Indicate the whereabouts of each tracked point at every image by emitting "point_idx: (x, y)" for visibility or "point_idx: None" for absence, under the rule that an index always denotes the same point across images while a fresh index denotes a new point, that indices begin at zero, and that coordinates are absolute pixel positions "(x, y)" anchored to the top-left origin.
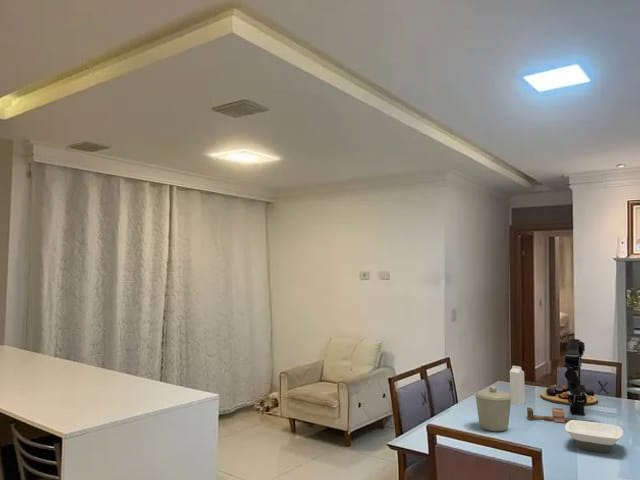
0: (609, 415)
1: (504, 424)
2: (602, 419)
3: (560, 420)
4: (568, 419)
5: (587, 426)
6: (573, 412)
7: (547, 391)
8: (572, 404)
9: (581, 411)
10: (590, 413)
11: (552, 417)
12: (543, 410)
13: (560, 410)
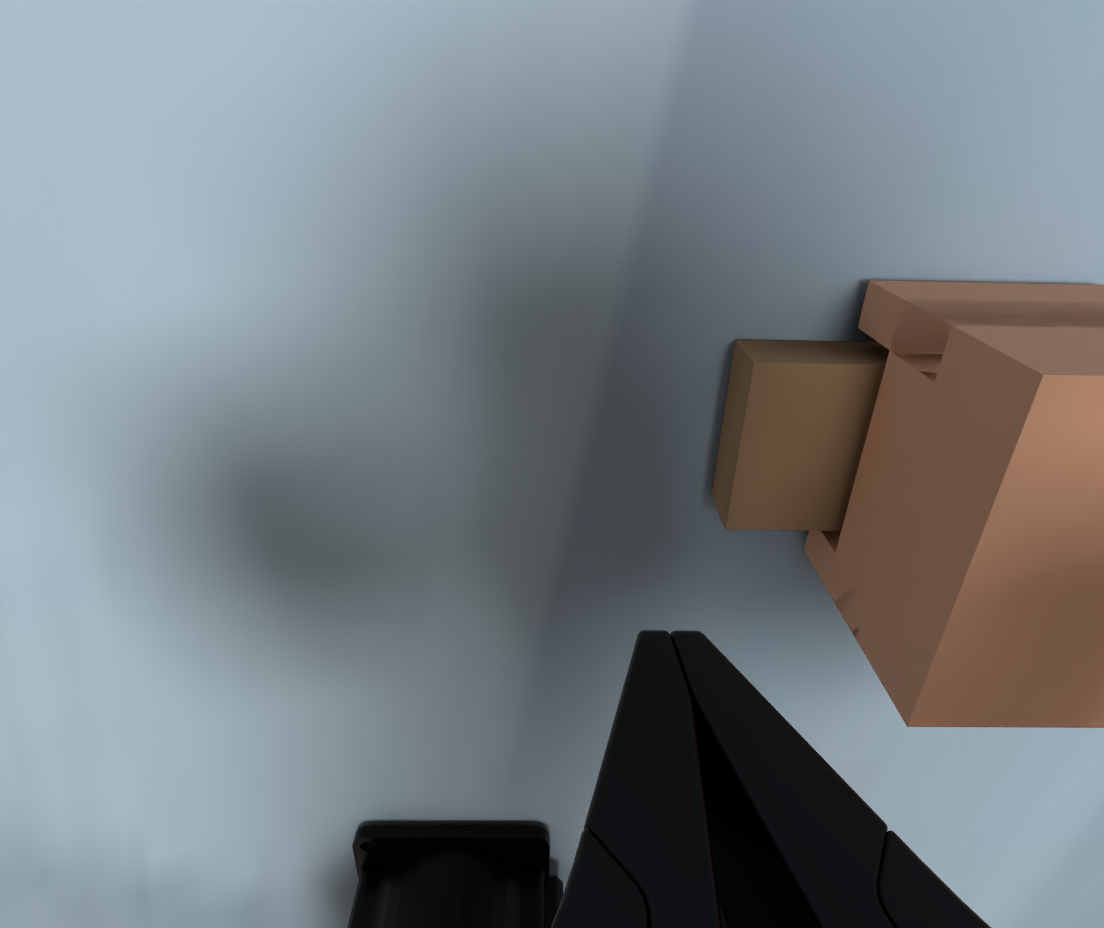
0: (17, 905)
1: None
2: (87, 721)
3: (992, 295)
4: (769, 398)
5: None
6: (519, 876)
7: None
8: (772, 715)
9: (394, 897)
10: (274, 924)
11: None
12: None
13: (1097, 513)
